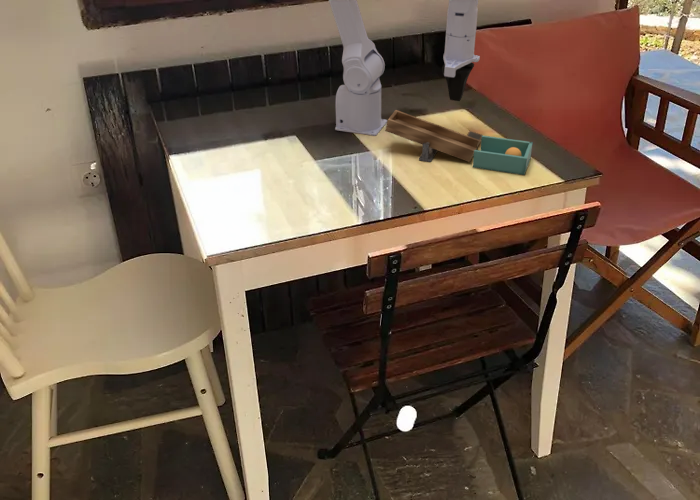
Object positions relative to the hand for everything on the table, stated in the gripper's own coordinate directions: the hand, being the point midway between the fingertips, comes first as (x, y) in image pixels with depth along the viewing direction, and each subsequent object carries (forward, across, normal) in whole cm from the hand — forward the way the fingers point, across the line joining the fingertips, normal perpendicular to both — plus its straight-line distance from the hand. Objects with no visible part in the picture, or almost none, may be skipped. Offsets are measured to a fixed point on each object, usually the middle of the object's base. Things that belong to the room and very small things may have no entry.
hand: (455, 99), depth 147 cm
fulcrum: (+8, -8, +2) cm, 12 cm away
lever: (+6, -6, +3) cm, 9 cm away
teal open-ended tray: (+8, -8, -12) cm, 17 cm away
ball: (+6, -8, -14) cm, 17 cm away
